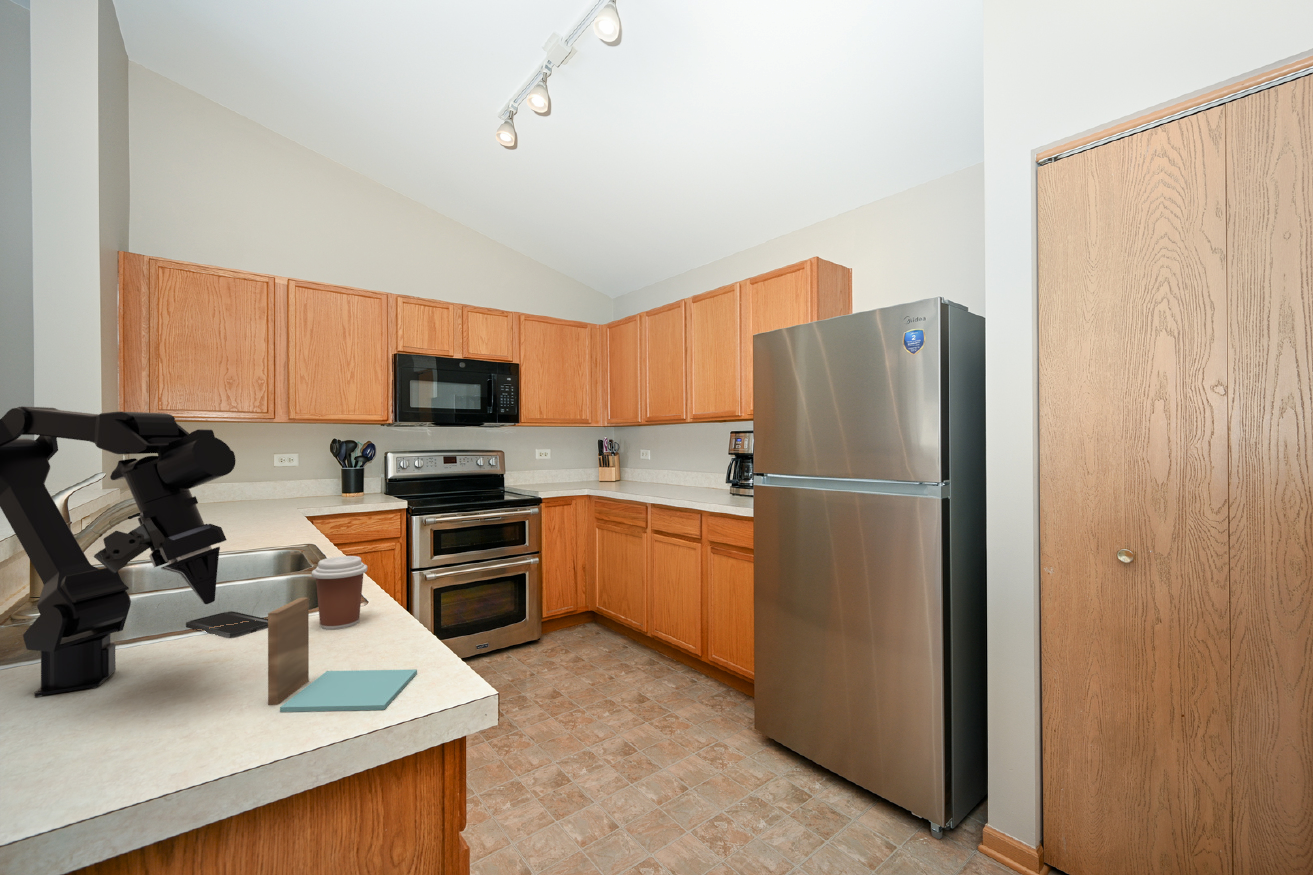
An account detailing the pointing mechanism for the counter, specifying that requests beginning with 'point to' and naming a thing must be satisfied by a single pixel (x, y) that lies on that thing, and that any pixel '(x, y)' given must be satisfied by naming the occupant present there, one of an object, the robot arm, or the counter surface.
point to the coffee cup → (339, 591)
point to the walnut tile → (288, 650)
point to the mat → (350, 691)
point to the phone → (229, 618)
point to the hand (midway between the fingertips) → (209, 602)
